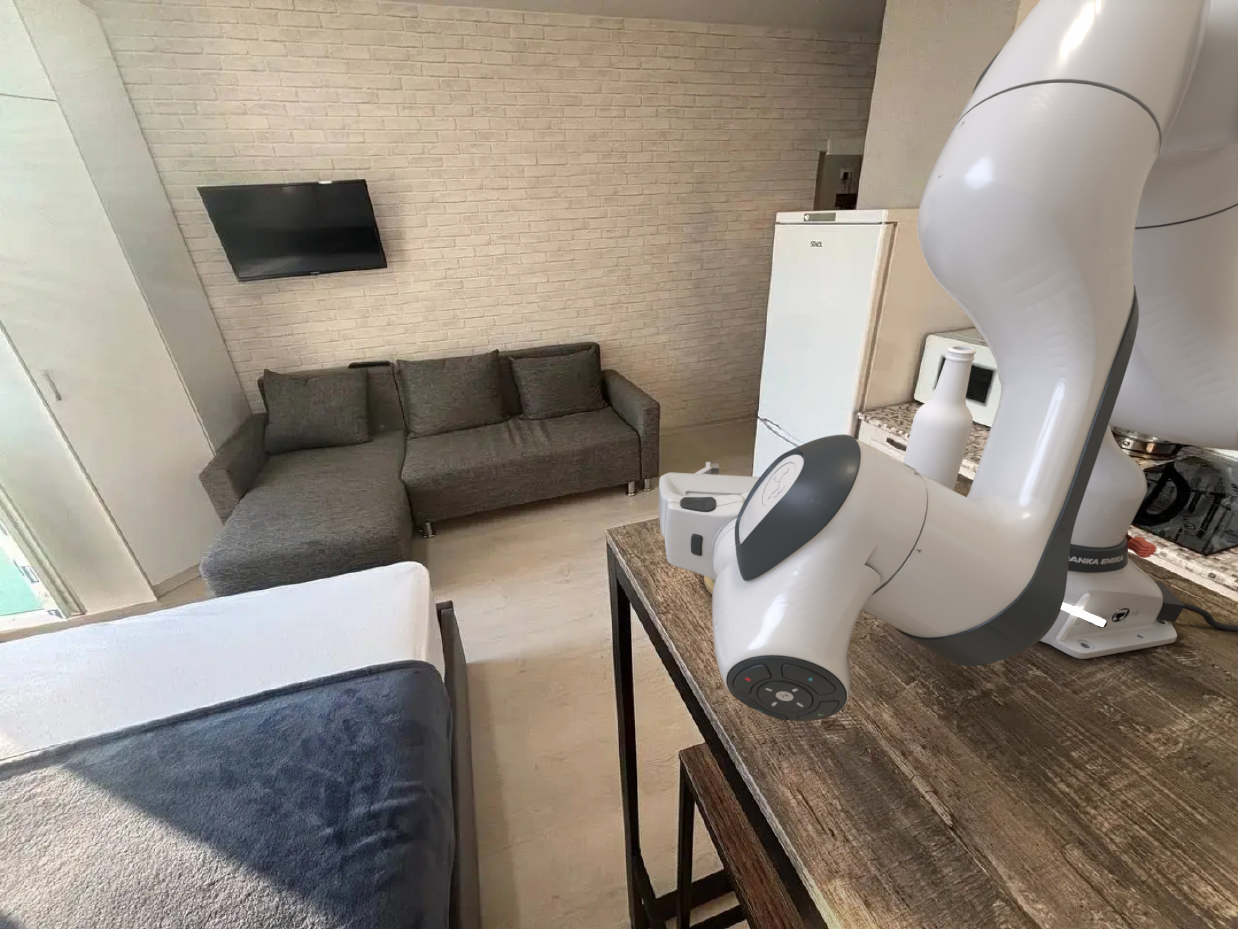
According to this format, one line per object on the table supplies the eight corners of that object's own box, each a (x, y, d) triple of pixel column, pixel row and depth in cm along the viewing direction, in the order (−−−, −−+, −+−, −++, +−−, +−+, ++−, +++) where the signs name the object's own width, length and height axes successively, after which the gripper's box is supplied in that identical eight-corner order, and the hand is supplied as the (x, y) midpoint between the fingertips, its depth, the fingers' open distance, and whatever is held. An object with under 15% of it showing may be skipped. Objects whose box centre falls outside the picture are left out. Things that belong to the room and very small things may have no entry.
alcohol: (952, 522, 91) (1003, 356, 77) (897, 515, 93) (937, 354, 80) (940, 497, 98) (984, 342, 85) (890, 492, 101) (925, 341, 87)
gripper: (901, 519, 41) (860, 447, 53) (649, 504, 45) (664, 440, 57) (885, 581, 44) (850, 499, 56) (650, 562, 47) (664, 489, 60)
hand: (755, 469), depth 56 cm, fingers open, 8 cm apart
